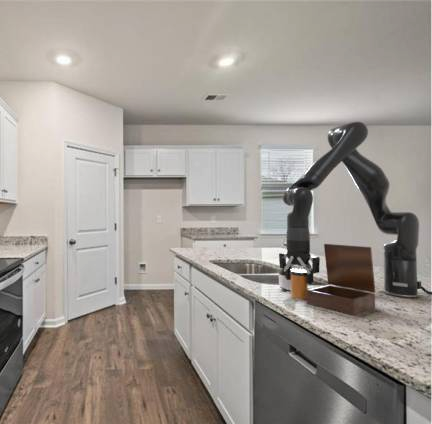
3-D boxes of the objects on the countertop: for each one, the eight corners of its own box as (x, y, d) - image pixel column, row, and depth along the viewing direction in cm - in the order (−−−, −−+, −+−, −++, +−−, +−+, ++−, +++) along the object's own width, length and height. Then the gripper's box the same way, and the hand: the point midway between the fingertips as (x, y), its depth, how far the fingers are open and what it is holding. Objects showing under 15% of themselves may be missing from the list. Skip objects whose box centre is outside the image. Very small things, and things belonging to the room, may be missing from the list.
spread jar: (280, 292, 116) (280, 264, 117) (276, 286, 127) (275, 260, 127) (315, 295, 112) (314, 266, 112) (307, 288, 122) (306, 262, 123)
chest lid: (370, 247, 92) (371, 247, 93) (323, 244, 105) (325, 243, 105) (374, 292, 93) (375, 291, 94) (328, 283, 105) (329, 283, 106)
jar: (295, 296, 111) (295, 268, 111) (311, 299, 106) (311, 271, 106) (287, 298, 109) (286, 270, 109) (302, 302, 103) (302, 272, 104)
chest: (353, 318, 87) (353, 300, 87) (307, 306, 99) (306, 289, 99) (375, 310, 93) (374, 293, 93) (328, 300, 106) (328, 284, 106)
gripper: (324, 239, 103) (325, 284, 103) (285, 237, 116) (285, 277, 116) (312, 240, 100) (313, 287, 99) (273, 238, 112) (274, 279, 112)
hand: (298, 281), depth 107 cm, fingers open, 7 cm apart
